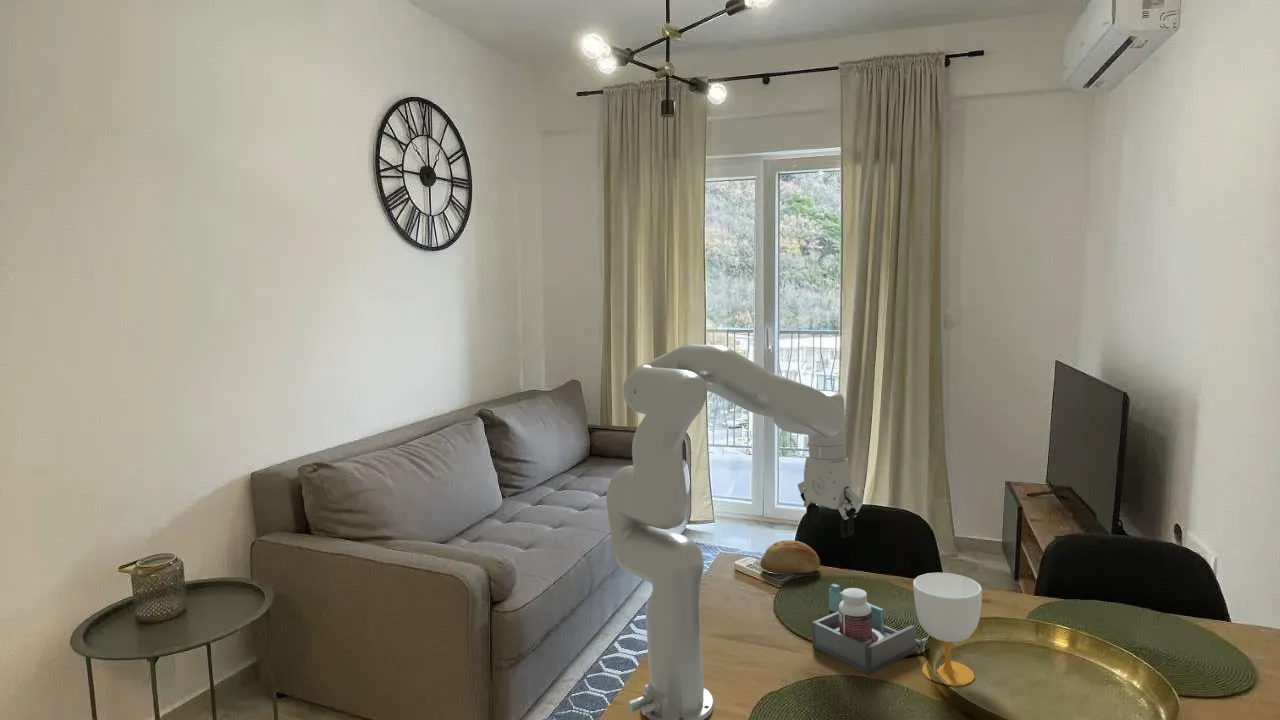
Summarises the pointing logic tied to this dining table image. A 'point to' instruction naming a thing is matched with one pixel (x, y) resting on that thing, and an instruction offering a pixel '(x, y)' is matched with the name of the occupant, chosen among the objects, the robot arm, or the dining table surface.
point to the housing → (859, 654)
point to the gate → (836, 599)
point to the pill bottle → (855, 615)
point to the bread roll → (790, 558)
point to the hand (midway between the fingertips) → (830, 530)
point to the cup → (948, 617)
